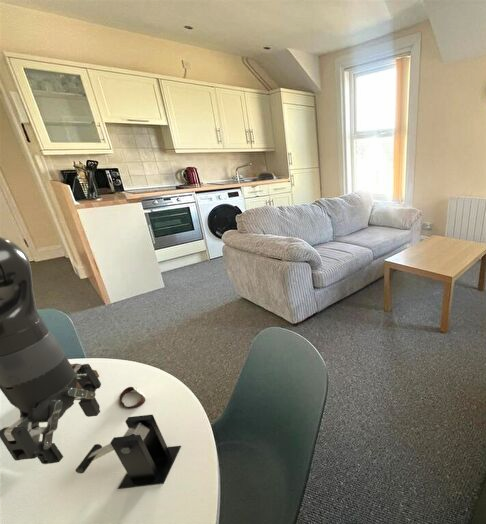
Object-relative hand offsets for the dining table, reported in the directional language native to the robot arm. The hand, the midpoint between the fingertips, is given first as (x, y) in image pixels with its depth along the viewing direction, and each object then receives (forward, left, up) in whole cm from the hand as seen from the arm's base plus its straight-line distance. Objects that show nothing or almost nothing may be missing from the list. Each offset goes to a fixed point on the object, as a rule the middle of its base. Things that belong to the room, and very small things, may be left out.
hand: (76, 436), depth 50 cm
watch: (-4, +17, -11) cm, 21 cm away
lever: (+6, 0, -5) cm, 7 cm away
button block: (-25, +26, -11) cm, 38 cm away
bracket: (+10, 0, -11) cm, 15 cm away
